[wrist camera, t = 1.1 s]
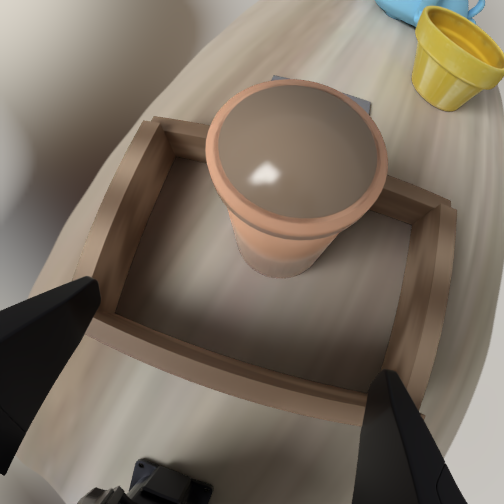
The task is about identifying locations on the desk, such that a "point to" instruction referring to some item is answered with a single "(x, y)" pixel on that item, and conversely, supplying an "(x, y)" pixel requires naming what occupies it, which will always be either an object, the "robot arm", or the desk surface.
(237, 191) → the terracotta pot
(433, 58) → the plant pot
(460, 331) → the desk surface
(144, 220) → the frame
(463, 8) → the decorative pot
